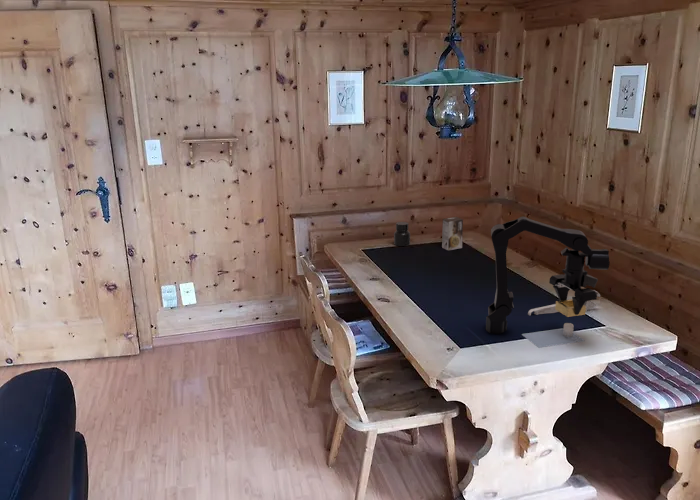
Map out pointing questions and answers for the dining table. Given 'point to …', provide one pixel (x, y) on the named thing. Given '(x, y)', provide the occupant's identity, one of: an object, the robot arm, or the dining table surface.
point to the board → (553, 336)
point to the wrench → (552, 310)
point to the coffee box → (452, 233)
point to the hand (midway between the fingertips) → (570, 310)
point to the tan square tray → (568, 308)
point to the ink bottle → (402, 234)
